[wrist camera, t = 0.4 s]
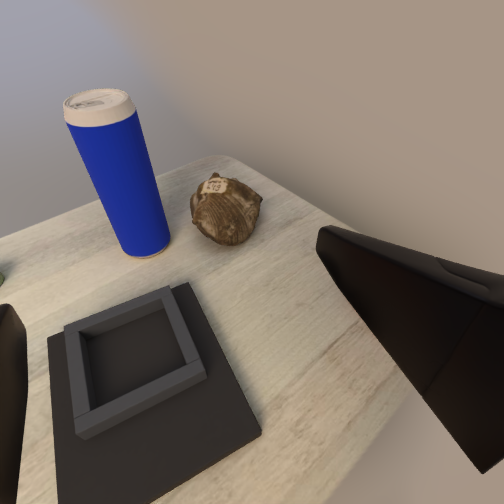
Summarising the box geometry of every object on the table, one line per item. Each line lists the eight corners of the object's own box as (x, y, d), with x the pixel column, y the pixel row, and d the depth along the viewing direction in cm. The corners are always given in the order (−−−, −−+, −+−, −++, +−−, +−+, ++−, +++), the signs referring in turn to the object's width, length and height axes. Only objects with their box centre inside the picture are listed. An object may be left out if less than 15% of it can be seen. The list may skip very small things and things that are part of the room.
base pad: (261, 435, 20) (262, 424, 19) (69, 553, 17) (46, 553, 15) (190, 288, 29) (185, 271, 27) (52, 343, 25) (37, 327, 24)
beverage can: (158, 222, 36) (117, 82, 25) (179, 246, 33) (143, 100, 22) (115, 240, 34) (50, 97, 23) (134, 268, 31) (69, 119, 20)
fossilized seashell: (210, 173, 39) (167, 231, 34) (228, 139, 33) (179, 202, 28) (259, 208, 40) (224, 268, 35) (284, 180, 34) (247, 248, 29)
